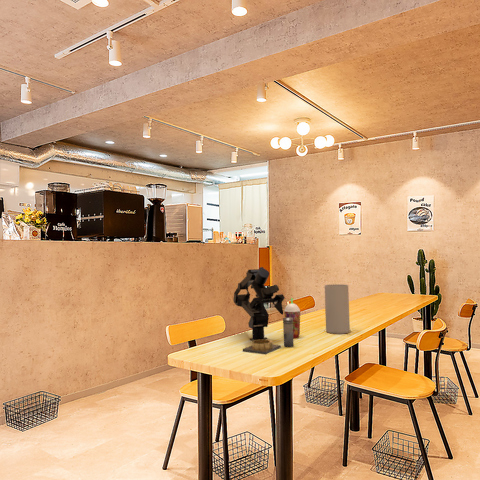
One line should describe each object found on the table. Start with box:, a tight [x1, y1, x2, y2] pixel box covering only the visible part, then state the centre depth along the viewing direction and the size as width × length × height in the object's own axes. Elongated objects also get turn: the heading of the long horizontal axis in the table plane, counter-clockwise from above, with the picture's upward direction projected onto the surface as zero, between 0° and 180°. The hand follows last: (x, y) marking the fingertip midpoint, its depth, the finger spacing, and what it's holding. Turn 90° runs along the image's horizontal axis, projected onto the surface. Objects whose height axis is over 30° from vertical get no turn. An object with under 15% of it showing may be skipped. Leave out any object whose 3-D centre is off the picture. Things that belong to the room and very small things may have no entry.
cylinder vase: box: [324, 284, 351, 335], centre depth 220 cm, size 12×12×25 cm
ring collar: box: [242, 339, 282, 355], centre depth 186 cm, size 14×12×4 cm
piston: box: [282, 317, 294, 348], centre depth 191 cm, size 5×5×13 cm
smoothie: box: [283, 297, 301, 339], centre depth 210 cm, size 8×8×20 cm
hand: (275, 315), depth 196 cm, fingers open, 9 cm apart
